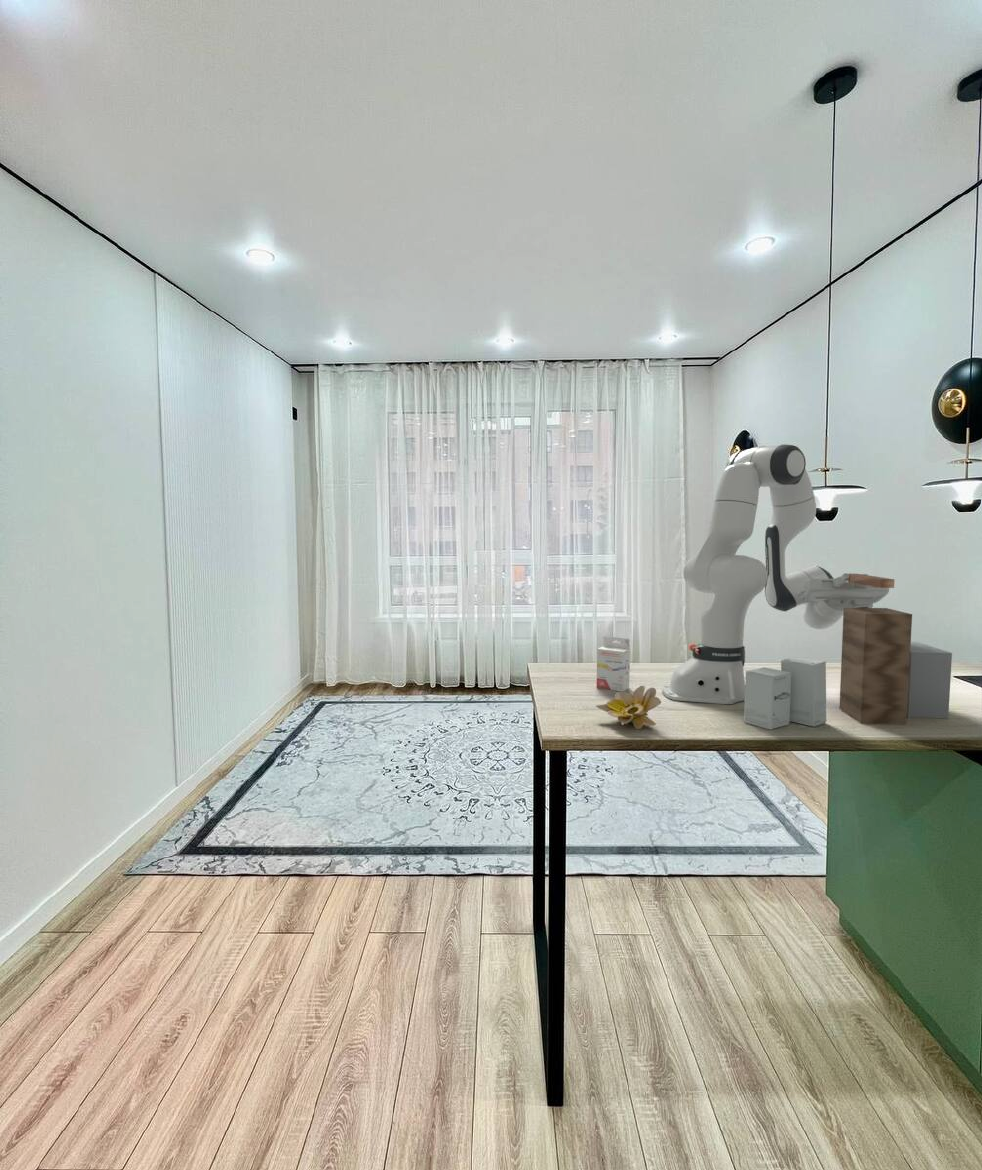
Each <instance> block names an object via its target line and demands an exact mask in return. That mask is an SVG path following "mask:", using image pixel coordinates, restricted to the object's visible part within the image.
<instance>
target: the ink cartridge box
mask: <svg viewBox="0 0 982 1170" xmlns="http://www.w3.org/2000/svg"><path fill="white" fill-rule="evenodd" d="M616 641H617V642H620V643H616ZM596 651H597V653H596V688H597V689H604V690H609V689H610V691H615V690H617V692H622V691H624V692H625V691H626V690H628V689H630V676H631V675H630V671H631V670H630V669H631V668H630V666H631V664H630V663H631V661H630V660H631V659H630V658H631V649H630V639H629V638H628V637H627V638H626V637H624V638H623V637H619V636H618V637H617V636H615V637H614V636H606V635H605V636H603V646H601V647H598V648H597V650H596Z"/></svg>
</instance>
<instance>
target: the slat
mask: <svg viewBox="0 0 982 1170" xmlns="http://www.w3.org/2000/svg"><path fill="white" fill-rule="evenodd" d="M848 574H849V575H850V576H849V577H850V581H849V582H851V583H857V584H862V585H868V586H873V587H878V588H889V589H894V588H895V579H894V578H890V577H889V578H888V577H882V576H875V575H869V574H868V575H862V573H848Z"/></svg>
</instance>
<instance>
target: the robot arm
mask: <svg viewBox="0 0 982 1170" xmlns="http://www.w3.org/2000/svg"><path fill="white" fill-rule="evenodd" d="M806 465H807V463H806V456H805V455H804V453H803V451H802V450H801V449H800V448H799V447H798V446H796V445H793V444H780V445H761V446H756V447H751V448H747V449H746V448H744V449H741V450H738V451H736V452H734V453H733V454H731V456H730V457H729V459H728V460H727V462H726V467H725V468H724V470H723V471H722V473H721V476H720V478H719V482H718V484H717V488H716V492H715V495H714V496H715V497H714V501H713V507H712V510H711V511H712V512H711V516H710V522H709V525H708V526H709V527H708V529H707V533H706V536H705V538H704V539H703V542H702V543H701V546H700V547H699V549H698V550H697V552H696V553H695V554H694V555H693V556H692V557H690V558H689V559H688V560H687V561H686V563H685V565H684V567H683V572H682V573H683V578H684V581H685V583H686V584H687V586H688V587H690V588H692V589H693V590H696V591H698V592H701V593H707V594H713V595H714V597H713V601H712V603H711V606H710V608H709V609H708V610H706V611H705V612H703V613H702V614H701V615H702V616H701V618H700V639H699V640H700V643H698V644H695V643H689V645H688V650H690V651H691V652H692V657H690V658H689V659H688V660H686V661H685V662H683V663H682V664H680V665H679V666H678V667H676V668H675V669H674V670H673V671H672V675H671V679H670V684H665V685H664V686H663V687H662V692H661V693H662V695H664V696H665V697H666V698H667V699H670V700H673V701H682V702H695V703H696V702H697V703H706V704H707V703H708V704H718V705H719V704H720V705H732V704H735V703H737V702H743V701H745V681H746V679H745V675H744V673H745V672H744V671H745V670H744V667H745V662H746V650H745V649H746V647H745V646H744V633H745V632H744V630H745V620H746V615H747V612H748V609H749V607H750V605H751V603H752V601H753V600H754V598H756V596H758V595H759V594H760V593H762V591H763V590H764V597H765V599H766V602H767V604H768V605H769V606H770V607H772V608H773V609H775V610H778V611H780V612H788V611H790V610H792V609H794V608H797V606H798V607H799V606H801V605H805V610H804V614H803V620H804V622H805V624H806V625H807V626H808V627H811V628H813V629H815V630H824V629H828V628H830V627H832V626H833V625H834V624H836V623H837V622H838V621H840V620H841V618H842V617H843V611H844V608H874V604H876V603H878V602H880V601H882V600H883V599H884V598H885V597H886V596H887V595H888V594H889V593H890V588H878V587H873V586H868V585H862V584H857V583H851V582H849V581H850V577H849V576H850V575H849V574H850V573H843V574H842V575H841V576H838V577H835V578H834V577H833V576H832V574H831V573H830V572H829V571H828V570H826V569H825V568H823V567H821V566H819V565H812V566H807V567H804V568H802V569H799V570H797V571H794V572H791V573H788V574H786V556H785V555H786V549H787V547H788V545H789V544H790V543H791V541H792V540H794V538H796V537H797V536H798V535H800V533H802V532H804V530H807V528H808V527H809V526H810V525H811V524H812V523H813V521H814V519H815V517H816V514H817V504H816V498H815V493H814V489H813V485H812V482H811V479H810V476H809V474H808V471H807V469H806ZM761 487H763V488H765V487H766V488H767V487H768V488H769V492H770V500H771V505H772V514H771V515H772V516H771V521H770V522H769V523H770V524H769V525H768V526H767V528H766V530H765V535H764V544H765V545H764V548H765V550H764V551H765V564H764V563H763V562H762V561H761V560H759V559H757V558H754V557H751V556H747V555H741V554H736V553H737V551H738V550H739V548H740V547H741V545H742V544H743V543H744V542H746V541H747V540H749V539H750V537H752V535H753V531H754V527H755V521H756V516H757V509H758V503H759V491H760V488H761ZM861 574H862V573H861ZM862 575H869V574H868V573H863V574H862Z"/></svg>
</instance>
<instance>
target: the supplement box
mask: <svg viewBox="0 0 982 1170" xmlns="http://www.w3.org/2000/svg"><path fill="white" fill-rule="evenodd" d="M790 694H791V672H786V671H781V669H774V668H768V667H761V668H756V669H750V670H749V669H748V670H746V671H745V700H744V708H743V709H744V711H743V712H744V713H743V722H744V723H746V724H750V725H751V726H752V725H753V726H755V727H760V728H762V729H766V730H770V731H771V730H773V729H777V728H781V727H784V726H789V725H790V721H789V717H790Z"/></svg>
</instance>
